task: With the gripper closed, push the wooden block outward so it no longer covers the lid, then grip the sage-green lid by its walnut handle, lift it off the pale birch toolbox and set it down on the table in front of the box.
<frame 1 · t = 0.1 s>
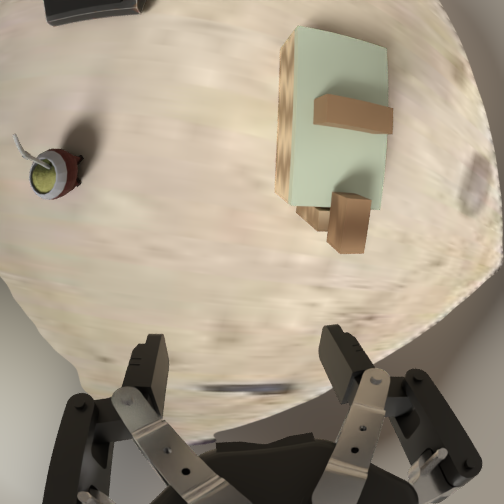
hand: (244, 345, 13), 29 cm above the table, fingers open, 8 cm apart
mate gourd: (69, 166, 35), on the table
toolbox: (317, 121, 37), on the table
lid: (340, 117, 30), point 8 cm above the table, touching toolbox
wooden block: (348, 221, 30), point 12 cm above the table, slide at 0.0 cm
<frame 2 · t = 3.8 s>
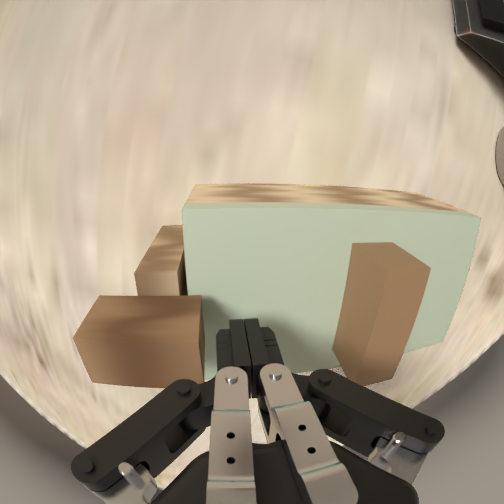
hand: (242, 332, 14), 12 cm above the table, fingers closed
toolbox: (316, 248, 26), on the table
lid: (353, 289, 19), point 8 cm above the table, touching toolbox
wooden block: (145, 340, 13), point 12 cm above the table, slide at 1.2 cm, touching gripper
voltmeter: (480, 25, 17), on the table
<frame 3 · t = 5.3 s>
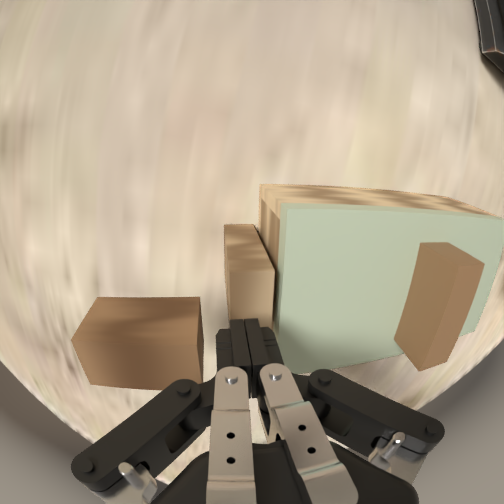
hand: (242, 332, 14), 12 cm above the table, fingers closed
toolbox: (366, 248, 27), on the table
lid: (411, 284, 19), point 8 cm above the table, touching toolbox
wooden block: (143, 341, 13), point 12 cm above the table, slide at 6.6 cm, touching gripper
voltmeter: (499, 39, 18), on the table
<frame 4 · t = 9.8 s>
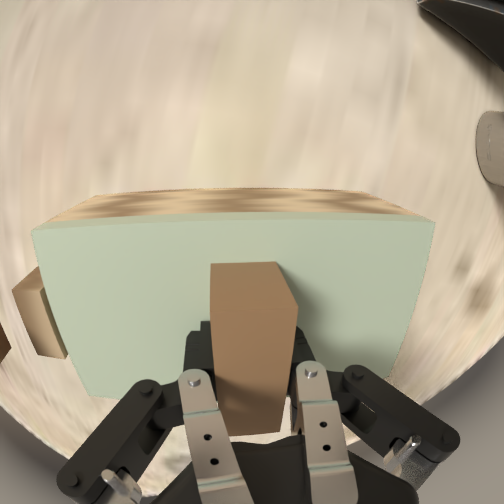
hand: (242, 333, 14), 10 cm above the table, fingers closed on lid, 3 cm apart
toolbox: (231, 261, 23), on the table
lid: (240, 316, 16), point 8 cm above the table, touching gripper, toolbox
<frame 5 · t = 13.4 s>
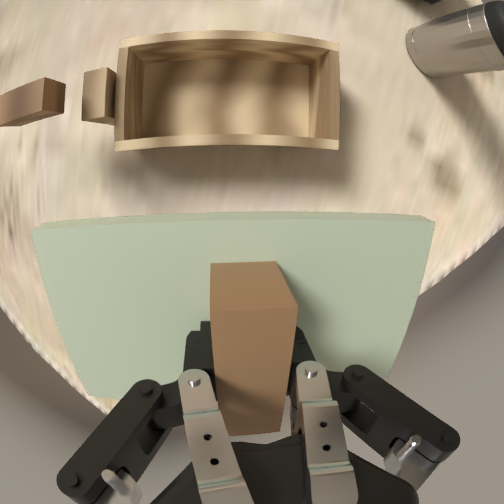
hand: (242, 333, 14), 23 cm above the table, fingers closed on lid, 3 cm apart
toolbox: (225, 98, 30), on the table
lid: (240, 316, 16), point 21 cm above the table, touching gripper
wooden block: (30, 103, 16), point 12 cm above the table, slide at 6.6 cm
when the fingers open (4 cm above the table, at t = 17.1 s): lid drops 2 cm, on the table.
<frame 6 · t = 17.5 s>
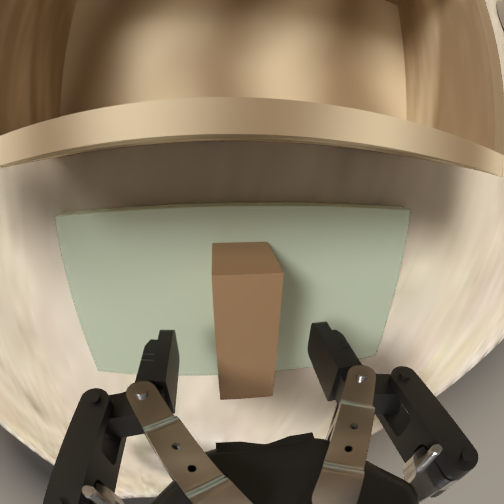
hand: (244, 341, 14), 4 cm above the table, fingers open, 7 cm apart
toolbox: (240, 40, 12), on the table
lid: (237, 292, 18), on the table
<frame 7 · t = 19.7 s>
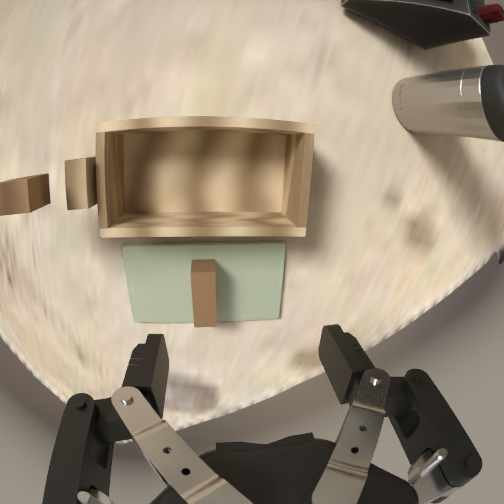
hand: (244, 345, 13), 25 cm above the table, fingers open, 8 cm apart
toolbox: (203, 170, 34), on the table
lid: (204, 281, 40), on the table
wooden block: (17, 194, 19), point 12 cm above the table, slide at 6.6 cm
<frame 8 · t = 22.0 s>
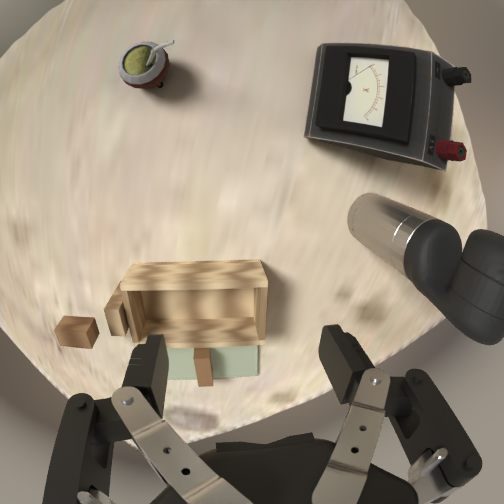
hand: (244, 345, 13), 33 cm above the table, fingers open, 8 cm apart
mate gourd: (155, 73, 35), on the table
toolbox: (197, 292, 49), on the table
lid: (203, 354, 55), on the table
wooden block: (76, 331, 35), point 12 cm above the table, slide at 6.6 cm
voltmeter: (351, 104, 40), on the table
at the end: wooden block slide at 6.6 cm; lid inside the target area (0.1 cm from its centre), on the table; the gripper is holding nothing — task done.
